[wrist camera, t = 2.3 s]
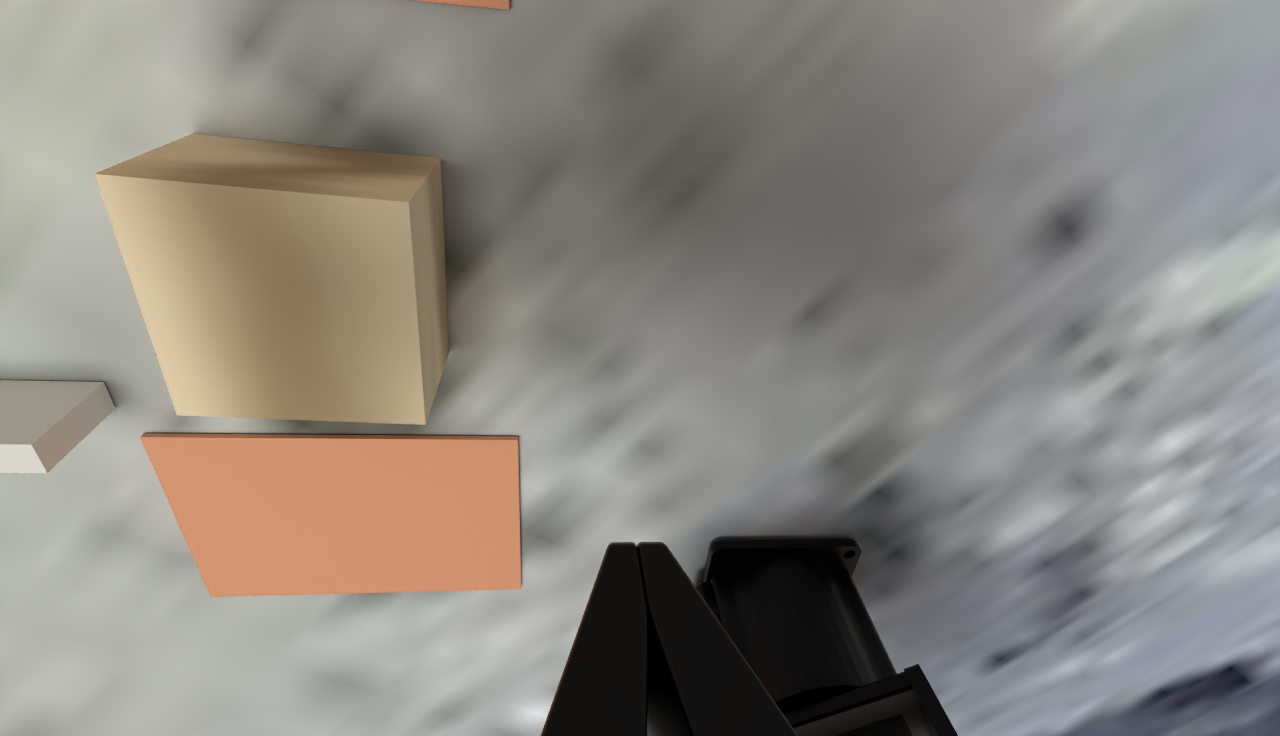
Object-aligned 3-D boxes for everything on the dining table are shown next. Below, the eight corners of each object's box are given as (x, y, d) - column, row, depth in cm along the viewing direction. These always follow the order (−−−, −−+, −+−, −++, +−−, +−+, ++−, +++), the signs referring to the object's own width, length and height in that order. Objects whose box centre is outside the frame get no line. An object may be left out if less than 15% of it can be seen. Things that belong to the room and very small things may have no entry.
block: (441, 156, 16) (408, 202, 13) (450, 348, 19) (425, 424, 16) (197, 131, 15) (94, 173, 12) (248, 336, 19) (177, 414, 15)
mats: (498, -538, 10) (496, -548, 10) (521, 585, 26) (520, 589, 25) (-359, -723, 9) (-378, -737, 8) (213, 592, 24) (210, 596, 24)
